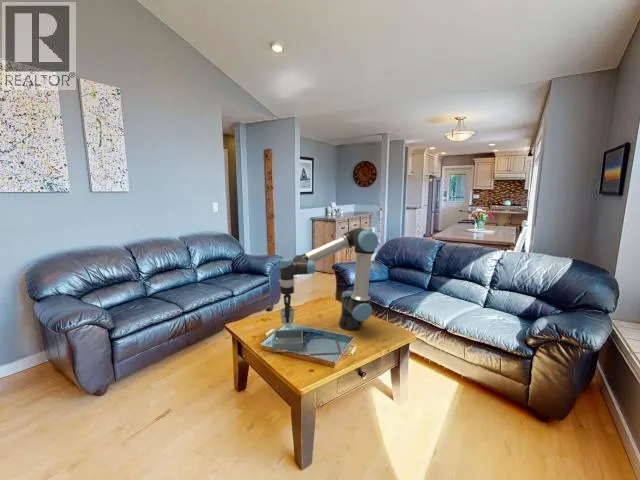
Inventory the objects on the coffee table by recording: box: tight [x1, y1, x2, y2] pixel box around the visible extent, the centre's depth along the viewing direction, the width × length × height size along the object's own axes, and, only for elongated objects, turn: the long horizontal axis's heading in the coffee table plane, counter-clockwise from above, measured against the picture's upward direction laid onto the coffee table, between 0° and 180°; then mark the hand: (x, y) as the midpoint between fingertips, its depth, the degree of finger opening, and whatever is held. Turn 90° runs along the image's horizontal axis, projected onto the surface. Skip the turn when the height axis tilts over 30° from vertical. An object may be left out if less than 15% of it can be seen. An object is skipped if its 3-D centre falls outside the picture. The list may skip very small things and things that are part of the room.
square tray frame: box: [303, 336, 342, 356], centre depth 176 cm, size 21×21×2 cm
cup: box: [279, 307, 295, 325], centre depth 175 cm, size 11×8×8 cm
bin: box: [272, 328, 304, 354], centre depth 177 cm, size 17×17×5 cm
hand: (287, 323), depth 175 cm, fingers closed on cup, 11 cm apart
